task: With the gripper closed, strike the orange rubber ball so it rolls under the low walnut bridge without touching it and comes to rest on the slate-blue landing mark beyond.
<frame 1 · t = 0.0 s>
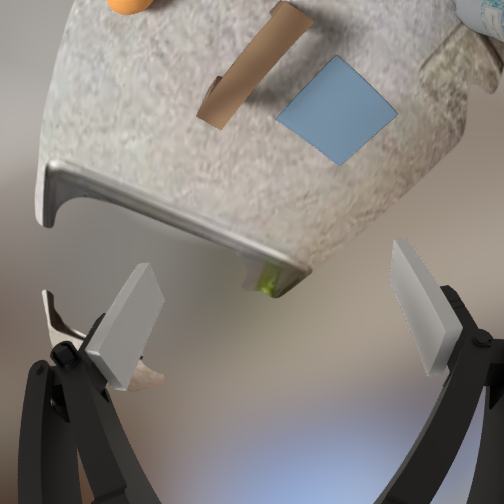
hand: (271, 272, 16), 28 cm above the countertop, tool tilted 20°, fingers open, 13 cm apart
bottle: (466, 7, 20), on the countertop
landing mark: (339, 114, 36), on the countertop
bridge: (252, 50, 30), on the countertop
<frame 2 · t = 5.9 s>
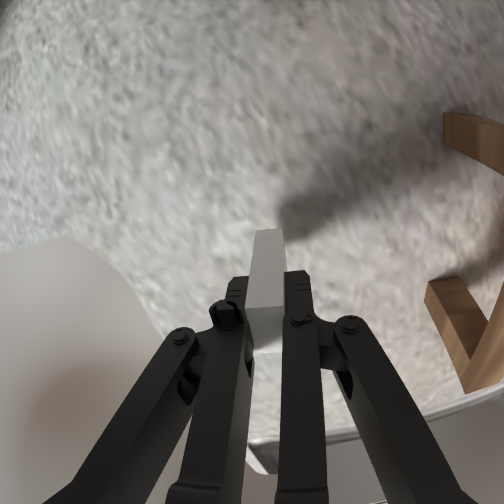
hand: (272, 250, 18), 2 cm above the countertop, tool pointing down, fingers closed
bridge: (455, 218, 17), on the countertop
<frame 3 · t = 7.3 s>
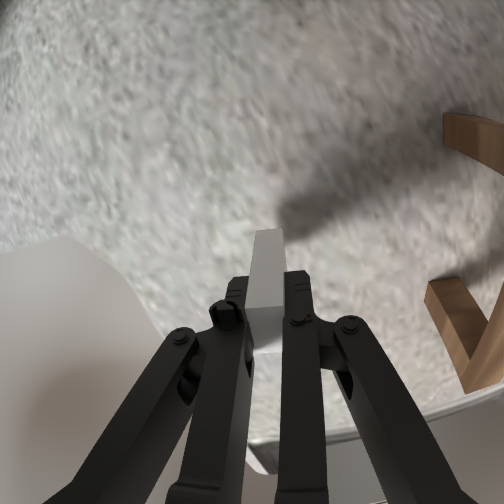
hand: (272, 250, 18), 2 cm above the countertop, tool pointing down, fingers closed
bridge: (455, 218, 17), on the countertop
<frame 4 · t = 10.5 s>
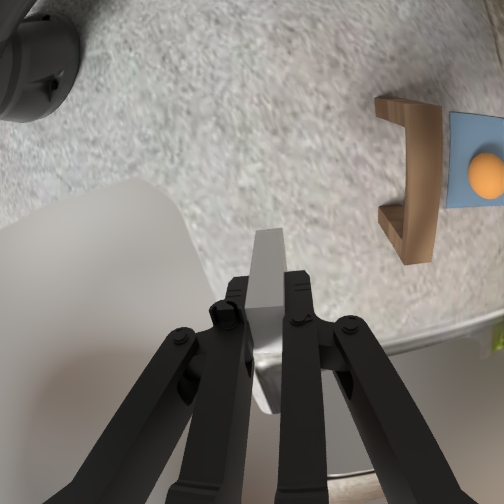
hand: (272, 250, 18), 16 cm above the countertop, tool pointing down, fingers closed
ball: (488, 175, 26), on the countertop
landing mark: (485, 162, 28), on the countertop
bridge: (390, 162, 30), on the countertop
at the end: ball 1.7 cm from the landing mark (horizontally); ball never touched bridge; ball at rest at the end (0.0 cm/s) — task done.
